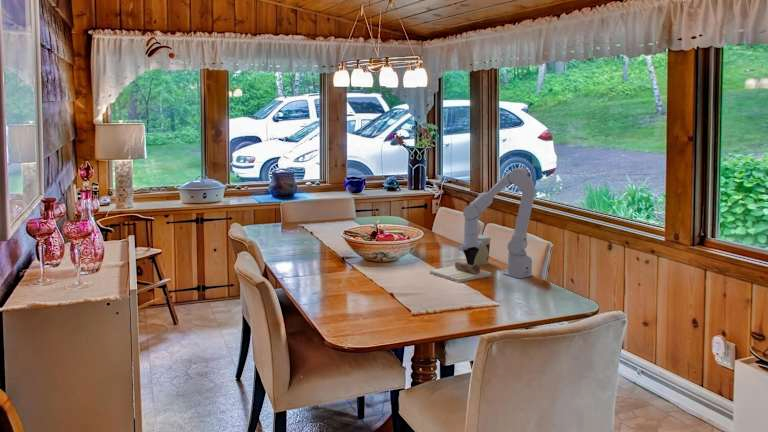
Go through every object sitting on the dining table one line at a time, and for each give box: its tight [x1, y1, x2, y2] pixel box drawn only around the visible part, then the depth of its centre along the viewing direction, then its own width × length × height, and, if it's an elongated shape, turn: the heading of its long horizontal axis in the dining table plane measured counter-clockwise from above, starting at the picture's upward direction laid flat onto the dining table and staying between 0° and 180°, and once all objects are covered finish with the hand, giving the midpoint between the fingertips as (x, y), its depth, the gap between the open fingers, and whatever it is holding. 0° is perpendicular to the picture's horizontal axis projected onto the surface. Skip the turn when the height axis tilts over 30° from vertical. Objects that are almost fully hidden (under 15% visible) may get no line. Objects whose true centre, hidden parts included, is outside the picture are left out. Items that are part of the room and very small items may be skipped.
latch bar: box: [454, 261, 481, 274], centre depth 282 cm, size 12×2×3 cm, turn 36°
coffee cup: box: [473, 234, 491, 266], centre depth 301 cm, size 9×9×12 cm
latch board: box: [428, 265, 492, 283], centre depth 282 cm, size 18×18×1 cm
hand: (470, 264), depth 289 cm, fingers closed
